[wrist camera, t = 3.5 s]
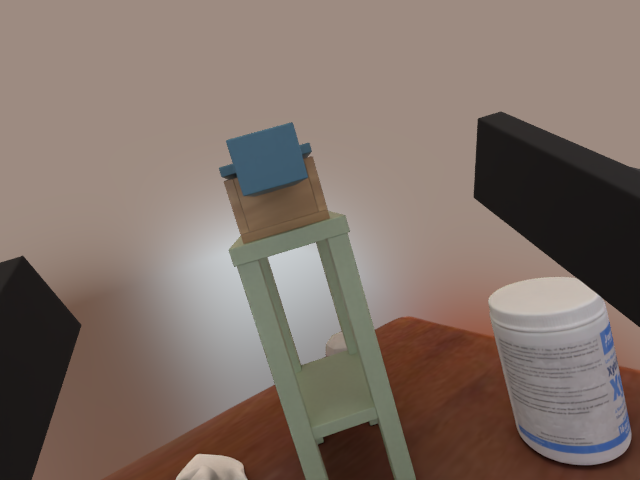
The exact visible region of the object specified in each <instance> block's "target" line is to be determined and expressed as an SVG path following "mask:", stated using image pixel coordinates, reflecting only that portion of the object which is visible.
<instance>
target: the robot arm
mask: <svg viewBox="0 0 640 480" xmlns="http://www.w3.org/2000/svg"><path fill="white" fill-rule="evenodd" d="M477 128H478V129H477V145H476V164H475V183H474V198H475V199H476V200H478V201H479V202H480V203H481V204H483V205H484V206H485V207H486V208H488V209H489V210H490V211H491V212H493V213H494V214H495V215H497V216H498V217H499V218H500V219H502V220H503V221H504V222H506V223H507V224H508V225H509V226H511V227H512V228H514V229H515V230H516V231H517V232H519V233H520V234H521V235H522V236H524V237H525V238H526V239H527V240H529V241H530V242H531V243H533V244H534V245H535V246H536V247H538V248H539V249H540V250H541V251H543V252H544V253H545V254H547V255H548V256H549V257H551V258H552V259H553V260H554V261H556V262H557V263H558V264H559V265H561V266H562V267H563V268H565V269H566V270H567V271H568V272H570V273H571V274H572V275H573V276H575V277H576V278H577V279H579V280H580V281H581V282H582V283H584V284H585V285H586V286H588V287H589V288H590V289H591V290H593V291H594V292H595V293H597V294H598V295H599V296H600V297H602V298H603V299H604V300H606V301H607V302H608V303H609V304H611V305H612V306H613V307H615V308H616V309H617V310H618V311H620V312H621V313H622V314H623V315H625V316H626V317H627V318H629V319H630V320H631V321H632V322H634V323H635V324H636V325H638V326H639V327H640V169H637V168H632V167H629V166H626V165H624V164H621V163H619V162H617V161H615V160H612V159H610V158H607V157H605V156H603V155H601V154H598V153H596V152H594V151H592V150H589V149H587V148H584V147H582V146H580V145H578V144H575V143H573V142H570V141H568V140H566V139H564V138H561V137H559V136H557V135H554V134H552V133H550V132H547V131H545V130H543V129H541V128H538V127H536V126H534V125H531V124H529V123H527V122H524V121H522V120H520V119H517V118H515V117H513V116H510V115H508V114H506V113H503V112H498V113H495V114H491V115H488V116H485V117H482V118H479V119H478V126H477ZM80 328H81V324H80V323H79V322H78V321H77V319H76V318H75V317H74V316H73V315H72V313H71V312H70V311H69V310H68V309H67V307H66V306H65V305H64V304H63V303H62V302H61V300H60V299H59V298H58V297H57V296H56V294H55V293H54V292H53V291H52V290H51V289H50V287H49V286H48V285H47V284H46V282H45V281H44V280H43V279H42V278H41V277H40V275H39V274H38V273H37V272H36V271H35V269H34V268H33V267H32V266H31V265H30V264H29V262H28V261H27V260H26V259H25V258H24V257H23V256H21V257H18V258H15V259H11V260H8V261H4V262H1V263H0V480H32V477H33V474H34V471H35V468H36V464H37V461H38V458H39V455H40V452H41V449H42V446H43V443H44V440H45V436H46V433H47V430H48V427H49V424H50V421H51V418H52V415H53V412H54V409H55V405H56V402H57V399H58V396H59V393H60V390H61V387H62V384H63V381H64V378H65V374H66V371H67V368H68V365H69V362H70V359H71V356H72V353H73V350H74V346H75V343H76V340H77V337H78V334H79V331H80Z"/></svg>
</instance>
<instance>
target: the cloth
mask: <svg viewBox="0 0 640 480" xmlns="http://www.w3.org/2000/svg"><path fill="white" fill-rule="evenodd" d="M176 480H248V479H247V478H246V476H245V473H244V466H243V465H242V463H240V462H239V461H237V460H235V459H233V458H230V457H226V456H221V455H207V454H197V455H196V456H195V457H194V458H193V459H192V460H191V461H190V462H189V463H188V464H187V465H186V466H185V468H184V469H183V470H182V471H181V472H180V473H179V475H178V476H177V478H176Z"/></svg>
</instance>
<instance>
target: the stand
mask: <svg viewBox="0 0 640 480" xmlns="http://www.w3.org/2000/svg"><path fill="white" fill-rule="evenodd" d="M328 212H329V216H330V219H326V220H323V221H320V222H316V223H313V224H309V225H306V226H303V227H299V228H296V229H293V230H289V231H286V232H283V233H279V234H276V235H273V236H269V237H266V238H262V239H259V240H256V241H252V242H249V243H246V244H243V241H242V238H241V236H240V237H239V239H238V240H237V241H236V242H235V243H234V244H233V245H232V247H231V248H230V249H229V253H230V256H231V259H232V262H233V265H234V267H236V266H237V268H238V271H239V274H240V277H241V280H242V283H243V287H244V290H245V293H246V296H247V299H248V302H249V305H250V308H251V311H252V315H253V317H254V320H255V324H256V327H257V330H258V333H259V336H260V339H261V342H262V345H263V348H264V351H265V355H266V358H267V361H268V364H269V367H270V370H271V373H272V376H273V379H274V383H275V386H276V389H277V392H278V395H279V398H280V401H281V404H282V407H283V410H284V413H285V417H286V420H287V423H288V426H289V429H290V432H291V435H292V438H293V441H294V444H295V447H296V451H297V454H298V457H299V460H300V463H301V466H302V469H303V472H304V475H305V478H306V480H329V479H328V476H327V472H326V469H325V466H324V463H323V460H322V457H321V453H320V450H319V447H318V444H320V443H323V442H324V440H323V437H325V436H328V435H331V434H334V433H337V432H339V431H342V430H345V429H348V428H351V427H354V426H357V425H360V424H363V423H365V422H368V421H369V423H370V426H372V425H375V424H377V423H378V425H379V428H380V432H381V435H382V439H383V442H384V446H385V449H386V453H387V456H388V460H389V463H390V467H391V470H392V474H393V477H394V480H416V477H415V474H414V470H413V467H412V463H411V459H410V456H409V452H408V449H407V445H406V442H405V438H404V434H403V431H402V427H401V424H400V420H399V416H398V413H397V409H396V406H395V402H394V398H393V395H392V391H391V388H390V384H389V380H388V377H387V373H386V370H385V366H384V363H383V359H382V355H381V352H380V348H379V345H378V341H377V337H376V334H375V330H374V327H373V323H372V319H371V317H370V313H369V309H368V305H367V302H366V298H365V294H364V291H363V287H362V284H361V280H360V276H359V273H358V269H357V266H356V262H355V258H354V255H353V251H352V248H351V244H350V240H349V237H348V232H350V230H349V227H348V224H347V220H346V216H345V215H343V214H338V213H334V212H330V211H328ZM315 242H316V244H317V248H318V251H319V254H320V258H321V261H322V265H323V268H324V272H325V274H326V278H327V282H328V285H329V289H330V292H331V296H332V299H333V302H334V306H335V309H336V313H337V316H338V320H339V323H340V326H341V330H342V333H343V337H344V340H345V344H346V347H347V350H346V351H343V352H340V353H337V354H334V355H331V356H328V357H325V358H322V359H319V360H316V361H313V362H310V363H307V364H304V365H301V364H300V361H299V357H298V354H297V351H296V348H295V344H294V341H293V338H292V335H291V332H290V329H289V326H288V322H287V319H286V316H285V312H284V309H283V306H282V303H281V299H280V296H279V293H278V290H277V287H276V283H275V280H274V277H273V274H272V270H271V267H270V264H269V261H268V258H267V257H269V256H272V255H275V254H278V253H282V252H285V251H288V250H292V249H295V248H298V247H302V246H305V245H308V244H311V243H315Z"/></svg>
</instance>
